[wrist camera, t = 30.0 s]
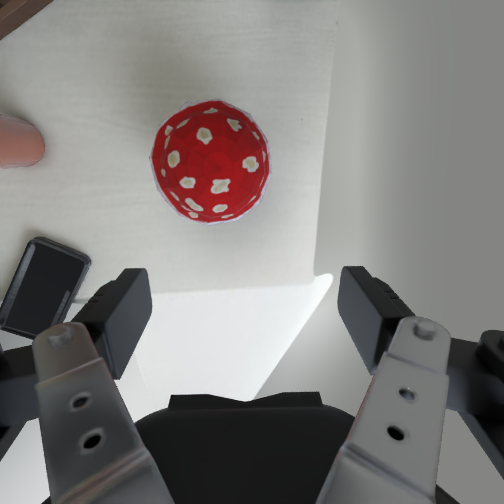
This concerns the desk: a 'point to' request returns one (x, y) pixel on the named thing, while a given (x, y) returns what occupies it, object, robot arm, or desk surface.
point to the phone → (42, 288)
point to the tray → (18, 13)
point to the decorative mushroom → (211, 161)
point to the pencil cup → (19, 143)
